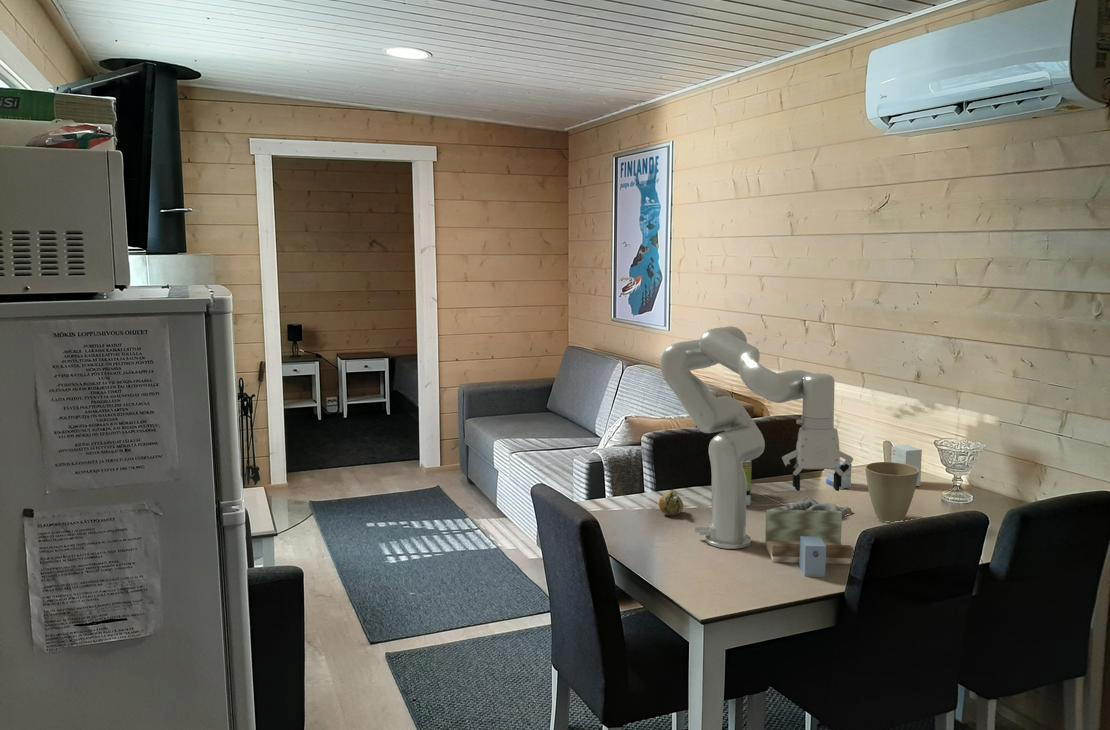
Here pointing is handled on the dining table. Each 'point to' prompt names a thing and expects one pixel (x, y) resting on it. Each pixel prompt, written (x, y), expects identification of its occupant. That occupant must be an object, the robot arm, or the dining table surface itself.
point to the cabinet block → (812, 556)
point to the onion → (671, 504)
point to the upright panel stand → (804, 534)
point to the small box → (907, 457)
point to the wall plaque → (814, 506)
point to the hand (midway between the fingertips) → (816, 489)
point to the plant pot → (891, 489)
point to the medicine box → (845, 477)
